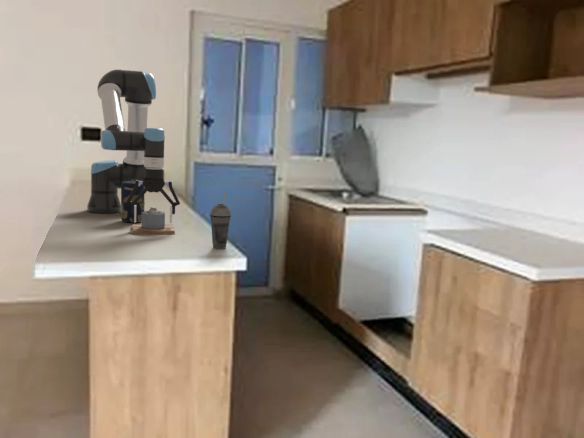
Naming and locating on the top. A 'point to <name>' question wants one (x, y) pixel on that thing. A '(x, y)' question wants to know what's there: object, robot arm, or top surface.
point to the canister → (126, 208)
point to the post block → (138, 230)
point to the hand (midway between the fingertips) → (153, 222)
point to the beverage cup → (220, 225)
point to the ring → (153, 220)
